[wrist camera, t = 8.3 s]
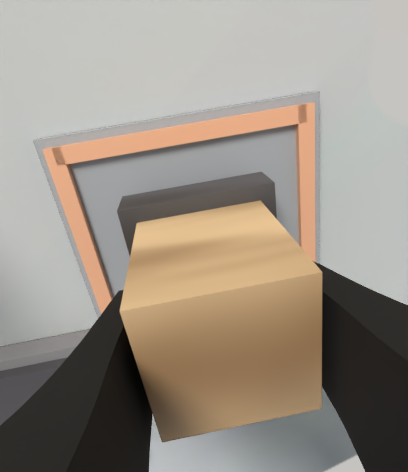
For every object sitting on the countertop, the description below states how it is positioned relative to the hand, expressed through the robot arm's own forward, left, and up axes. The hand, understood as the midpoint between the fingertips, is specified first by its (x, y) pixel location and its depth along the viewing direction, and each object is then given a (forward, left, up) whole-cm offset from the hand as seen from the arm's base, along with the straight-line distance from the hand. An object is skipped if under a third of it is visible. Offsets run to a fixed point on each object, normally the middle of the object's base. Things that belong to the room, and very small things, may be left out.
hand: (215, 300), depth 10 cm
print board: (0, 0, -4) cm, 4 cm away
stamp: (0, 0, -3) cm, 3 cm away
